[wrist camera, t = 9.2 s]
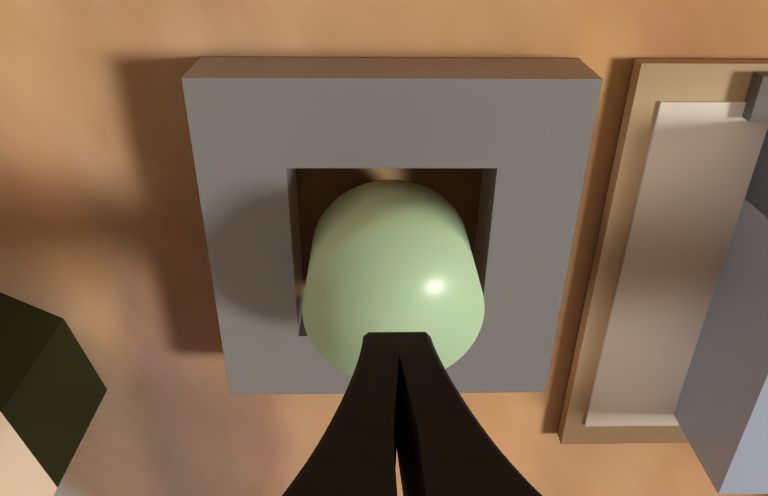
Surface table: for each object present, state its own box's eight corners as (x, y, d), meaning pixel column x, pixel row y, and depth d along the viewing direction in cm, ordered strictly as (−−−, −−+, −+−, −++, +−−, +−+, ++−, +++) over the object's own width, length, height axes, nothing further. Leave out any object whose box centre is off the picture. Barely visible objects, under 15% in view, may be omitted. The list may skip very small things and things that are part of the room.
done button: (462, 313, 19) (476, 382, 17) (315, 314, 19) (307, 383, 16) (473, 179, 17) (492, 235, 14) (308, 179, 17) (297, 235, 14)
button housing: (531, 351, 22) (545, 392, 20) (240, 353, 22) (229, 394, 20) (578, 58, 17) (602, 78, 15) (200, 56, 17) (181, 77, 15)
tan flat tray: (843, 431, 24) (861, 451, 23) (557, 433, 24) (564, 454, 23) (1037, 60, 17) (1072, 70, 16) (635, 58, 17) (648, 68, 16)
